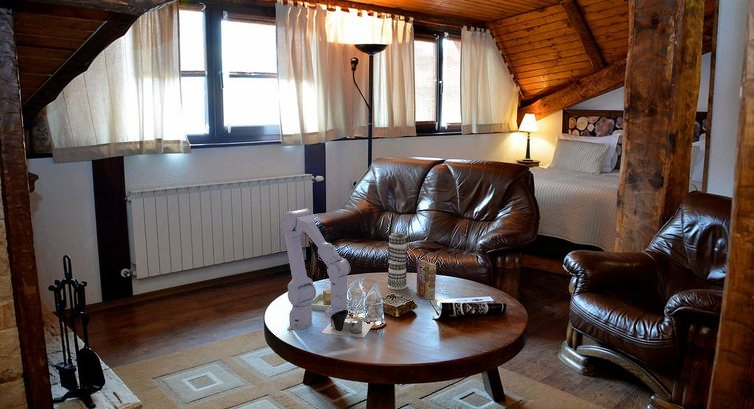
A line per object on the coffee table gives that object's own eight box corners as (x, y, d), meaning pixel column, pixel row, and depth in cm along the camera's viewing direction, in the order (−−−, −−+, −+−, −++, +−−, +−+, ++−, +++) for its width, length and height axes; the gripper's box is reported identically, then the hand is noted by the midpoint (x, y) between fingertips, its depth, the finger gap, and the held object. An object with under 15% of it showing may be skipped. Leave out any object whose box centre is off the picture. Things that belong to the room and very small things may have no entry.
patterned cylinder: (384, 284, 277) (384, 231, 272) (403, 282, 280) (403, 230, 275) (390, 290, 268) (391, 236, 264) (410, 288, 271) (411, 234, 267)
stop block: (335, 305, 246) (335, 291, 245) (326, 307, 244) (326, 293, 243) (332, 302, 249) (332, 289, 248) (323, 304, 247) (323, 290, 246)
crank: (364, 330, 219) (364, 317, 218) (358, 334, 215) (359, 321, 214) (333, 324, 224) (333, 311, 223) (327, 328, 220) (327, 315, 219)
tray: (340, 314, 238) (340, 307, 238) (306, 311, 242) (306, 304, 241) (350, 303, 252) (350, 296, 251) (318, 300, 255) (318, 293, 254)
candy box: (435, 298, 258) (436, 264, 255) (427, 300, 256) (428, 265, 253) (423, 292, 266) (424, 259, 263) (415, 294, 263) (416, 260, 261)
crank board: (363, 340, 213) (363, 337, 213) (321, 335, 217) (321, 332, 217) (375, 323, 229) (375, 321, 228) (335, 319, 232) (335, 317, 232)
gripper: (337, 301, 204) (337, 339, 206) (359, 290, 216) (359, 325, 219) (319, 298, 207) (320, 335, 210) (342, 286, 220) (342, 322, 222)
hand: (338, 330), depth 214 cm, fingers closed
